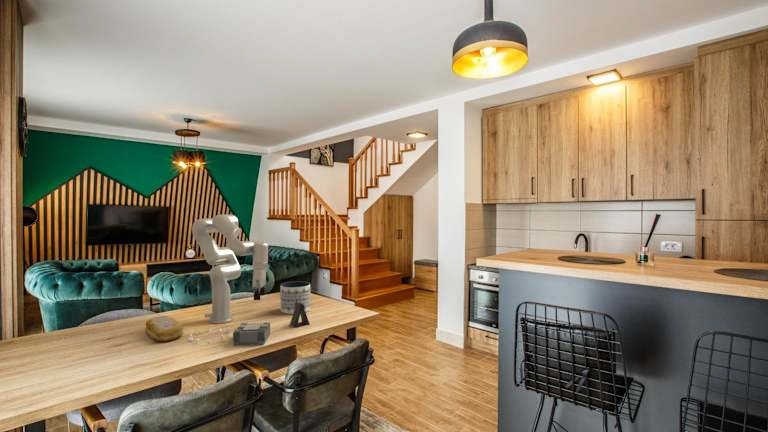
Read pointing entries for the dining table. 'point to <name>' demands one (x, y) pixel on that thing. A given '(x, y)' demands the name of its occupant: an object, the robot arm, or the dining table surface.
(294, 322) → the dark grey a-shaped piece
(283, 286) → the planter
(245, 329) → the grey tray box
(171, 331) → the bread
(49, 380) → the dining table surface
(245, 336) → the block
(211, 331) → the game piece set
